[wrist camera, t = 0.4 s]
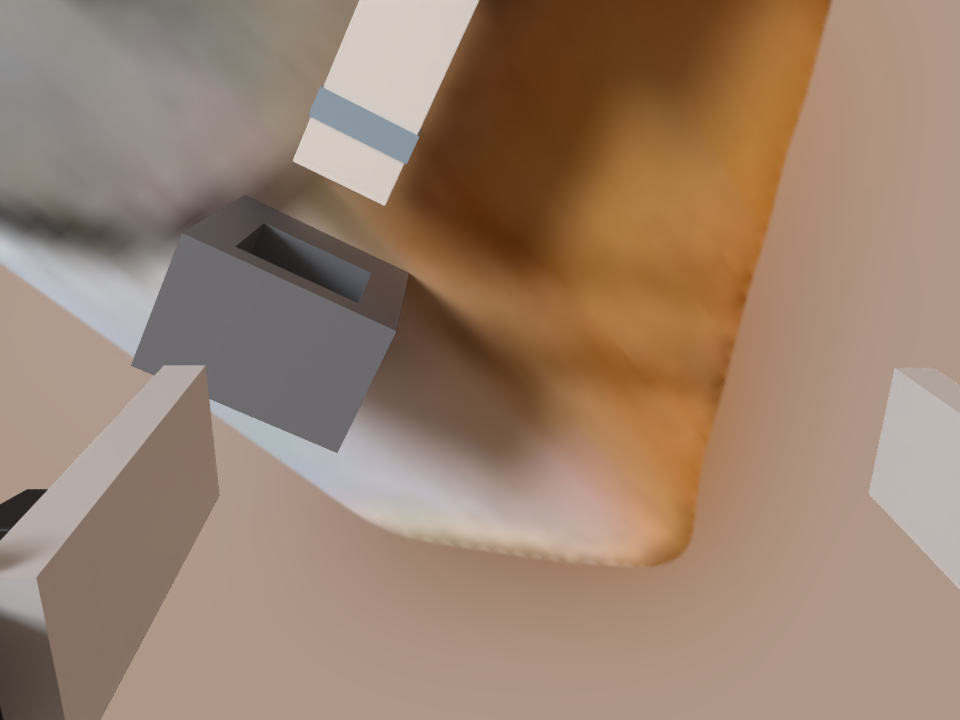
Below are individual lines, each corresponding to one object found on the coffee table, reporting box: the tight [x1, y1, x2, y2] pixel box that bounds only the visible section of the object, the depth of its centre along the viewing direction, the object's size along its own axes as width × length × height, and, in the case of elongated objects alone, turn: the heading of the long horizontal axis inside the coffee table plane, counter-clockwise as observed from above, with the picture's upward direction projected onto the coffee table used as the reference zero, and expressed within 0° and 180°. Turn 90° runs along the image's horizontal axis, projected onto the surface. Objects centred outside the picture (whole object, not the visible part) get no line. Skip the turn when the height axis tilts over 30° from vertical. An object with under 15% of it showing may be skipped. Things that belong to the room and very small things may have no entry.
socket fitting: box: [131, 195, 409, 453], centre depth 38 cm, size 6×9×10 cm, turn 63°
